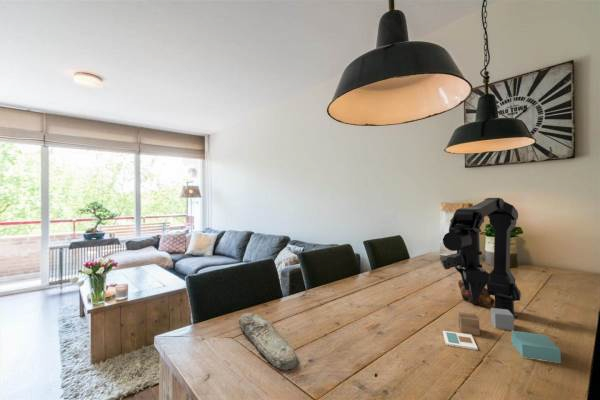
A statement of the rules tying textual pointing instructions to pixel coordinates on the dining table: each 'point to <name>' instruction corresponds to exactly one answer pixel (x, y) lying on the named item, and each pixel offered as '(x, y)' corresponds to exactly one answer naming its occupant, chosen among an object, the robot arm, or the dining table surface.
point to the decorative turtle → (483, 297)
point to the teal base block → (536, 346)
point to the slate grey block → (502, 319)
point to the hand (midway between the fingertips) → (470, 294)
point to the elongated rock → (268, 341)
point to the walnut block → (468, 323)
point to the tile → (459, 340)
